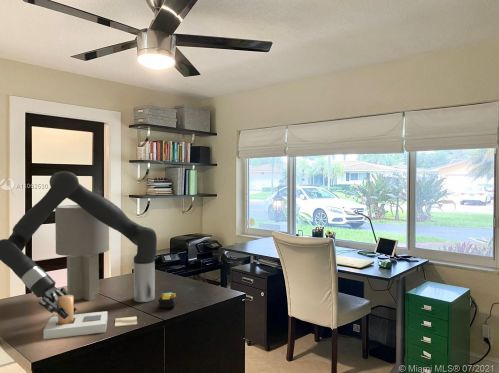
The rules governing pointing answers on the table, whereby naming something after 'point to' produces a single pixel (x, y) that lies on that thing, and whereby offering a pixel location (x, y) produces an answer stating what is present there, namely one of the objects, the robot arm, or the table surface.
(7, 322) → the table surface
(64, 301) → the plug
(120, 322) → the pad
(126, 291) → the table surface
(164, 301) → the pot of gold
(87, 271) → the lamp
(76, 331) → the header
